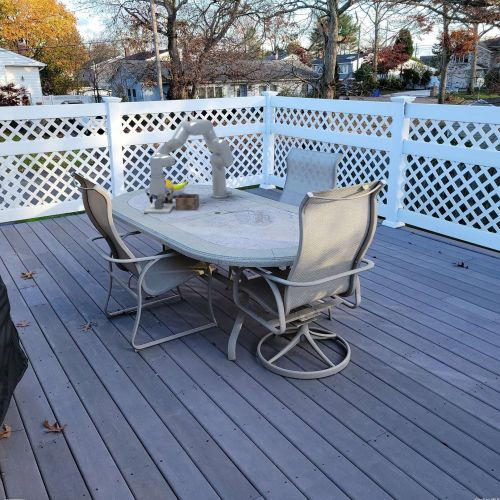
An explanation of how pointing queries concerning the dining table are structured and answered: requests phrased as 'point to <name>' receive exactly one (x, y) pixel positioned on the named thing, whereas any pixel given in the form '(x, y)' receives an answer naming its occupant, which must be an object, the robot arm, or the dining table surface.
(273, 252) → the dining table surface
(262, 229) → the dining table surface
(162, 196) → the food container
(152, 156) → the robot arm
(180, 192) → the fruit bowl
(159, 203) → the lid
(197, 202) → the storage box
